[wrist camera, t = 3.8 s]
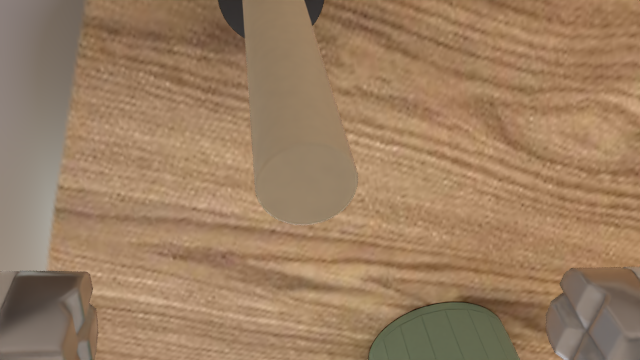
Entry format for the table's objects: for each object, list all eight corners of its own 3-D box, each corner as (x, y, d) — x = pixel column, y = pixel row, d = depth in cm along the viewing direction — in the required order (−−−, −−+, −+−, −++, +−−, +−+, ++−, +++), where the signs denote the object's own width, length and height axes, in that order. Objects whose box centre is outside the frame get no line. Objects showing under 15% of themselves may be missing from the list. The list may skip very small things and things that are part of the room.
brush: (217, 15, 25) (211, 257, 13) (218, -85, 23) (210, 99, 11) (310, 19, 26) (383, 255, 14) (320, -77, 24) (416, 105, 12)
